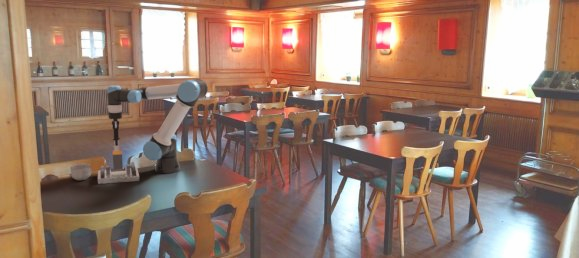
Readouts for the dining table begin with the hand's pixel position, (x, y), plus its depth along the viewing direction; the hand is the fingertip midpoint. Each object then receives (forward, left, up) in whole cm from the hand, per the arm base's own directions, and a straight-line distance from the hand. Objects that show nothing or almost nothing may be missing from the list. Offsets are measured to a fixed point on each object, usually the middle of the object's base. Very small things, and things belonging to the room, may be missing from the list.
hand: (116, 150), depth 281 cm
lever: (0, +12, -9) cm, 15 cm away
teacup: (+19, +6, -14) cm, 25 cm away
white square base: (0, +12, -11) cm, 16 cm away
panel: (0, +12, -14) cm, 18 cm away
